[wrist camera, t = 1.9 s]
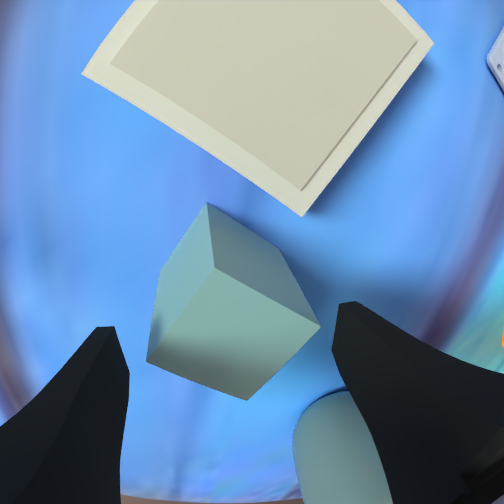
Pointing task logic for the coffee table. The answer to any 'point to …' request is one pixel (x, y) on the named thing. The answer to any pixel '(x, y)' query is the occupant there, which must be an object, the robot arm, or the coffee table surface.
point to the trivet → (264, 79)
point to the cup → (337, 455)
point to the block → (227, 308)
